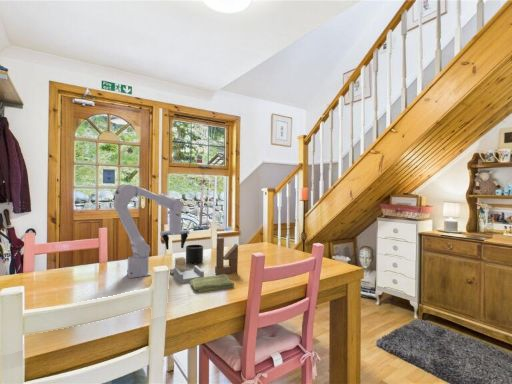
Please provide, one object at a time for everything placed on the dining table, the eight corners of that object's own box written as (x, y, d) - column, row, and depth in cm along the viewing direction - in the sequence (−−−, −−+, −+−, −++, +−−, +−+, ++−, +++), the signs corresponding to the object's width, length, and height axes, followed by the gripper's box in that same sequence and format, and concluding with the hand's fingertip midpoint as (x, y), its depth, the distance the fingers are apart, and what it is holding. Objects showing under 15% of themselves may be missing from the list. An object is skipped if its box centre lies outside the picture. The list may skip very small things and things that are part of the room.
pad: (171, 275, 137) (171, 273, 137) (168, 271, 143) (168, 269, 143) (191, 272, 142) (191, 270, 142) (187, 268, 148) (187, 267, 148)
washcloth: (188, 283, 127) (188, 276, 127) (226, 279, 134) (226, 272, 134) (194, 294, 115) (194, 286, 115) (235, 288, 122) (235, 281, 122)
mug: (190, 266, 152) (190, 249, 152) (183, 261, 163) (183, 245, 163) (206, 264, 157) (207, 248, 157) (199, 259, 168) (199, 244, 167)
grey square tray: (180, 283, 126) (180, 274, 126) (173, 276, 135) (174, 268, 135) (203, 280, 131) (204, 271, 131) (196, 273, 141) (196, 265, 141)
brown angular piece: (237, 273, 143) (238, 237, 143) (217, 275, 138) (217, 238, 138) (235, 271, 146) (235, 236, 146) (214, 273, 142) (215, 237, 141)
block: (175, 269, 143) (175, 257, 143) (182, 268, 145) (183, 257, 145) (177, 271, 140) (177, 259, 140) (185, 270, 142) (185, 258, 142)
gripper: (162, 224, 141) (162, 251, 141) (191, 222, 148) (190, 248, 148) (159, 222, 147) (159, 248, 147) (187, 221, 154) (186, 246, 154)
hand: (174, 248), depth 148 cm, fingers open, 7 cm apart
